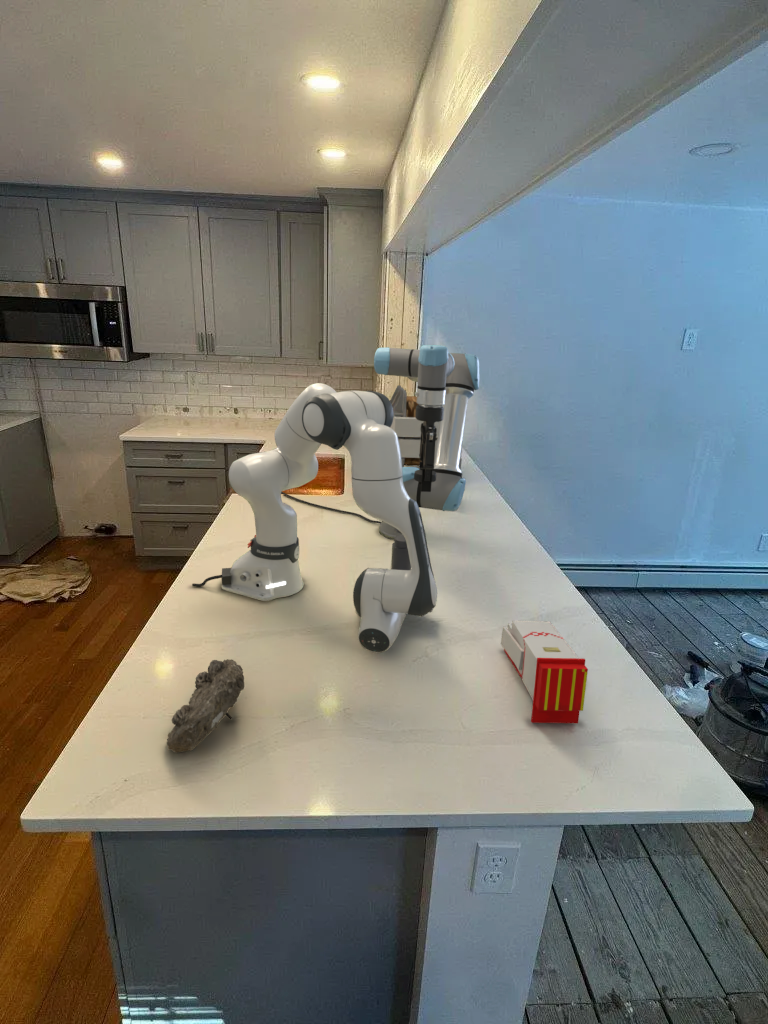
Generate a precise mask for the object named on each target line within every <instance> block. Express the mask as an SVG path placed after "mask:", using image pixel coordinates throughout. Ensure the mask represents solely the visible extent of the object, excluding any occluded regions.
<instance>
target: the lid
mask: <svg viewBox="0 0 768 1024" xmlns="http://www.w3.org/2000/svg"><path fill="white" fill-rule="evenodd" d="M414 479H415V480H416V481H418V482H421V480H422V470H416V471H415V473H414ZM435 481H436V472H435V471H432V482H435Z"/></svg>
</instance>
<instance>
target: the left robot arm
mask: <svg viewBox="0 0 768 1024" xmlns="http://www.w3.org/2000/svg"><path fill="white" fill-rule="evenodd" d="M390 400H391V399H389V398H388V396H387V395H385V394H383V393H381V392H378V391H375V390H345V391H336V389H334V388H333V387H332V386H330V385H328V384H327V383H321V382H318V383H317V382H316V383H311V384H310V385H308V386H307V387H306V388H305V389H304V390H303V391H301V393H300V394H299V395H298V396H297V397H296V398H295V399H294V401H293V402H292V403H291V405H290V406H289V408H288V409H287V411H286V413H285V414H284V416H283V417H282V419H281V421H280V422H279V423H278V425H277V427H276V428H275V430H274V435H273V436H274V442H275V446H276V447H275V448H273V449H270V450H266V451H259V452H255V453H249V454H247V455H244V456H242V457H240V458H237V459H236V460H234V461H233V462H232V463H231V464H230V467H229V470H228V482H229V484H230V486H231V489H232V490H233V491H234V492H235V494H236V495H238V496H239V497H241V498H243V499H245V500H246V502H247V503H248V504H249V506H250V508H251V510H252V513H253V516H254V526H255V534H254V536H253V537H252V539H250V541H249V542H248V543H247V549H249V548H250V549H249V550H248V551H246V552H245V553H243V554H242V555H241V556H239V557H237V559H236V560H235V561H233V563H232V565H231V567H222V568H221V574H219V575H213V576H209V577H207V578H205V579H204V580H203V582H201V583H191V586H192V587H195V588H200V587H204V586H205V585H206V584H207V582H209V581H212V580H216V579H221V590H223V591H225V592H230V593H234V594H236V595H240V596H244V597H248V598H252V599H255V600H259V601H262V602H269V601H272V600H275V599H279V598H285V597H289V596H293V595H295V594H297V593H299V592H300V591H301V590H302V589H303V588H304V586H305V585H304V581H303V577H302V574H301V568H300V562H299V561H300V560H299V559H300V539H299V537H298V514H297V512H296V510H295V509H294V508H293V507H292V506H291V505H290V504H287V503H286V502H283V500H282V494H281V492H284V491H288V490H293V489H296V488H299V487H300V488H301V487H302V486H304V485H306V484H308V483H310V482H311V481H313V480H315V479H316V478H317V475H318V473H319V461H318V458H317V455H316V453H317V451H318V450H319V448H320V447H321V445H325V446H328V447H329V448H331V449H333V450H336V451H339V450H340V449H342V447H344V448H345V449H346V450H347V451H348V454H349V455H350V456H349V457H350V461H351V469H350V471H351V491H352V496H353V501H354V502H355V504H356V505H357V507H358V508H359V509H360V510H361V511H362V512H363V513H364V514H366V515H368V516H369V517H371V518H373V519H375V520H377V521H380V522H382V521H383V522H385V523H387V524H389V525H391V526H393V527H395V528H396V529H398V530H399V531H400V532H401V533H402V534H403V535H404V537H405V539H406V543H407V548H408V553H409V558H410V564H411V570H394V569H391V568H382V567H380V568H379V567H367V568H365V569H364V570H363V571H362V572H360V574H359V575H358V577H357V578H356V581H355V582H354V586H353V591H352V601H353V606H354V610H355V613H356V614H357V615H358V616H359V618H360V623H359V627H358V628H359V629H358V633H357V638H358V639H357V640H358V642H359V644H360V645H361V646H362V648H364V649H365V650H367V651H369V652H373V653H384V652H385V651H387V650H389V649H390V648H391V647H392V646H393V645H394V643H395V641H396V640H397V637H398V635H399V633H400V631H401V628H402V625H403V623H404V621H405V618H406V616H407V615H411V616H415V617H423V616H425V615H427V614H429V613H432V612H433V610H434V609H435V608H436V606H437V602H438V586H437V583H436V582H437V581H436V579H435V574H434V571H433V568H432V563H431V558H430V557H431V556H430V553H429V547H428V541H427V536H426V531H425V530H426V529H425V526H424V521H423V517H422V512H421V509H420V507H418V504H417V502H416V501H414V500H412V499H411V498H410V497H409V496H408V494H407V492H406V490H405V487H404V484H403V473H402V459H401V451H400V446H399V441H398V437H397V434H396V432H395V431H394V430H393V429H392V428H390V427H391V425H392V422H393V417H394V412H393V407H392V404H391V402H390Z"/></svg>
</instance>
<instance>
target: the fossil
mask: <svg viewBox="0 0 768 1024" xmlns="http://www.w3.org/2000/svg"><path fill="white" fill-rule="evenodd" d="M243 670H244V669H243V667H242V665H240V664H237V662H236V661H235V660H234V659H232V658H231V659H227V658H226V659H224V660H223V661H222V660H217V659H212V660H211V661H210V663H209V665H208V666H207V671H201V672H199V673H198V674H197V675H196V676H195V680H194V684H195V685H194V687H195V689H194V690H193V693H192V694H191V697H190V698H189V700H188V704H184V705H182V706H181V707H180V709H177V710H176V711H175V713H174V715H173V716H172V718H171V723H172V724H173V727H172V730H171V731H170V732H168V734H167V738H166V741H167V742H166V745H167V749H168V750H169V751H173V752H174V753H176V754H178V753H182V752H188V751H189V752H192V751H193V750H195V748H196V747H197V746H199V744H200V743H201V742H203V741H204V740H205V739H206V738H207V737H208V736H209V735H210V734H211V733H212V732H214V730H215V729H217V727H218V726H219V724H220V722H221V721H222V720H223V719H224V718H225V716H226V717H227V719H229V720H233V717H232V715H230V714H229V710H230V709H231V708H234V706H235V704H236V703H237V702H238V699H239V697H240V695H241V693H242V691H243V690H245V689H244V688H245V675H244V671H243Z"/></svg>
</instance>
